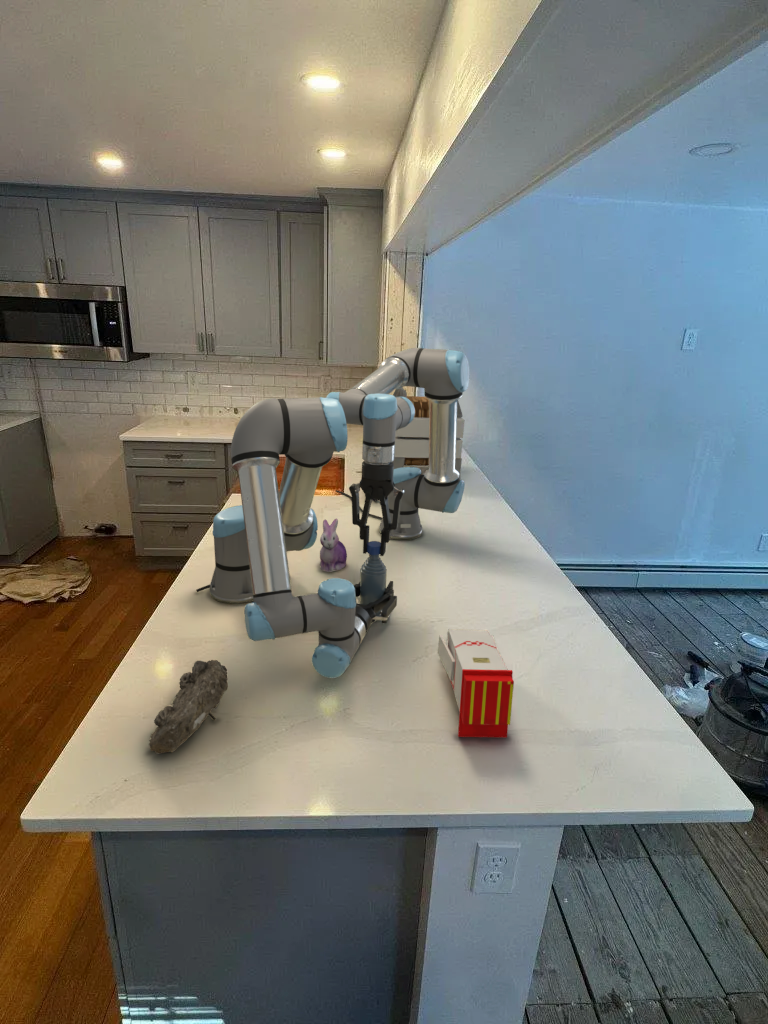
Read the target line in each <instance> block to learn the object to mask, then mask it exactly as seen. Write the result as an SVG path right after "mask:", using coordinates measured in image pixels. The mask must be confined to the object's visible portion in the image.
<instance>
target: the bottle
mask: <svg viewBox="0 0 768 1024" xmlns="http://www.w3.org/2000/svg"><path fill="white" fill-rule="evenodd" d="M359 569H360V570H359V572H360V573H359V582H360V596H359V597H358V598H359V601H358V604H362V605H367V604H369V603H370V602H372V603H373V602H374V601H376V600H378V599H379V598H381V597H382V596H384V591H385V589H386V588H387V573H388V570H387V565H386V564H385V563H384V562H383V560H382V559H381V556H380V554H379V555H370V554H368V557H367V558H366V560H365V561H364V562H363V563H362V564H361V566H360V568H359ZM381 610H382V609H381ZM381 610H380V611H381ZM380 611H378V612H377V613H376V615H377V614H379V613H380Z"/></svg>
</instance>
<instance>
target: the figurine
mask: <svg viewBox="0 0 768 1024" xmlns="http://www.w3.org/2000/svg"><path fill="white" fill-rule="evenodd" d="M338 524H339V518H334V520H333V521H332V522H331V523H330V524H329V522H328V520H327V519H325V518H324V519H323V521H322V534H321V535H320V539H319V542H320V544H321V548H320V550H319V559H320V562H319V566H320V571H322V572H327V573H329V572H330V573H332V572H335V571H336V572H337V571H341V570H342V569H343V568H346V565H347V559H348V554H347V553H348V552H347V549H346V546H345V544H343V542H342V541H341V540H340V538H339V535H338V534H337V528H338Z"/></svg>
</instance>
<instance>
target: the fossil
mask: <svg viewBox="0 0 768 1024" xmlns="http://www.w3.org/2000/svg"><path fill="white" fill-rule="evenodd" d="M228 679H229V678H228V669H227V667H226V666H225V665H223V664H222V663H221V662H220V661H218V660H217V659H210V660H208V661H203V660H196V661H195V662H194V663H193V666H192V667H191V671H187V672H185V673H183V674H182V675H181V676H180V678H179V682H178V684H179V690H178V691H177V694H176V695H175V698H174V699H173V701H172V705H166V706H164V708H163V709H161V710H159V712H158V713H157V715H156V716H155V718H154V720H153V724H154V725H155V726H157V727H156V728H155V729H154V731H153V732H152V733H150V736H149V737H150V739H149V740H148V741H149V743H148V747H149V750H150V751H151V752H155V754H164V753H169V752H171V753H174V752H175V751H177V749H178V748H179V747H180V746H181V745H182V744H183V743H185V742H186V741H187V740H188V739H189V738H190V737H191V736H192V735H193V734H194V733H195V732H196V731H198V730H199V729H200V727H201V726H202V723H203V722H204V721H206V720H207V718H208V717H210V719H212V721H216V720H217V718H216V717H215V715H213V714H212V713H211V712H212V710H214V709H216V708H217V707H218V705H219V704H220V702H221V700H222V698H223V696H224V694H225V693H226V692H227V690H228V688H229V683H228Z"/></svg>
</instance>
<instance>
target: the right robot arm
mask: <svg viewBox="0 0 768 1024" xmlns="http://www.w3.org/2000/svg"><path fill="white" fill-rule="evenodd" d="M470 372H471V371H470V363H469V359H468V357H467V356H466V353H464V352H463V351H460V350H453V349H450V348H449V349H447V348H446V349H443V348H441V349H440V348H424V347H411V348H407V349H403V350H400V351H398V352H396V353H394V354H392V355H389V356H388V357H387V358H385V359H384V360H383V361H382V362H381V363H380V365H379V367H378V368H377V369H376V370H374V371H373V372H371V373H370V374H369V375H367V376H366V377H365V378H363V379H362V380H360V381H359V382H357V383H356V384H355V385H353V386H352V387H350V388H349V389H348V390H346V391H345V392H341V391H331V392H329V393H328V394H327V395H326V397H325V398H334V399H336V400H338V401H339V402H340V404H341V405H342V408H343V411H344V414H345V418H346V424H347V425H354V426H355V425H356V426H362V451H361V455H362V456H361V459H362V460H363V461H362V462H361V479H360V481H359V482H357V483H352V484H350V486H349V487H348V490H349V492H350V495H349V494H347V493H346V492H343V491H340V490H338V489H336V490H335V492H336V493H339V494H341V495H343V496H345V497H348V498H349V499H350V500H351V520H352V523H351V524H352V525H354V526H357V527H359V539H360V540H361V541H362V554H364V555H366V554H368V553H367V543H368V542H370V525H369V524H368V519H369V517H372V518H375V519H379V520H381V522H379V525H378V533H379V534H380V542H381V549H380V554H379V557H384V556H385V554H386V551H387V544H389V542H390V541H391V540H395V541H410V540H415V539H418V538H420V537H421V536H422V535H423V525H422V524H421V518H420V515H419V509H420V510H421V509H422V510H427V511H433V512H439V513H442V514H443V513H446V514H454V513H456V512H457V511H458V509H459V508H460V505H461V502H462V499H463V496H464V493H465V492H464V491H465V484H466V483H465V481H464V480H463V479H460V480H459V472H458V471H457V470H456V469H455V451H456V423H457V400H458V401H459V400H460V399H461V398H462V397H463V393H464V392H466V391H467V390H468V388H469V385H470V376H471V375H470ZM404 387H412V388H421V389H424V390H423V391H424V397H426V398H427V399H428V400H429V465H428V469H426V470H424V473H423V474H422V469H421V468H419V467H416V466H404V467H403V468H397V469H394V464H393V462H392V461H394V452H395V432H396V430H398V429H401V428H404V427H406V426H407V425H408V424H409V423H410V422H411V421H412V420H413V418H414V415H415V408H414V405H413V403H412V402H411V401H410V400H409V399H408V398H406V397H395V396H393V394H391V393H392V392H393V391H395V390H396V389H400V388H404ZM361 491H362V492H363V494H364V496H365V495H366V498H365V497H364V504H363V508H362V507H361V506H360V492H361ZM375 499H376V500H377V501H379V505H380V509H381V514H382V515H381V516H382V517H381V516H379V515H375V514H372V513H370V512H371V507H372V502H373V500H374V501H375ZM360 513H361V515H360ZM360 516H361V518H360Z"/></svg>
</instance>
